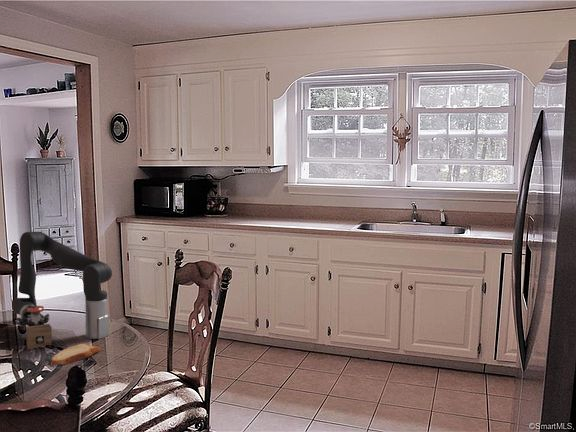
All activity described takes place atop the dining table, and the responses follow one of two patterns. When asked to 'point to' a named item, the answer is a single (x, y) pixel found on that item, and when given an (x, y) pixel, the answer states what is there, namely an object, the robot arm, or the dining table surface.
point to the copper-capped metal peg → (36, 317)
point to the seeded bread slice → (74, 354)
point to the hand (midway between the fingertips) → (37, 324)
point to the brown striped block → (38, 331)
